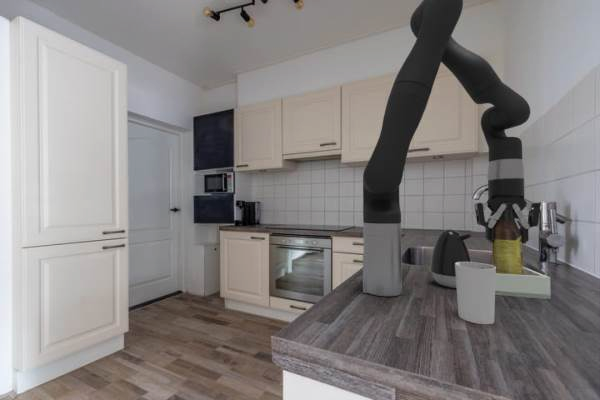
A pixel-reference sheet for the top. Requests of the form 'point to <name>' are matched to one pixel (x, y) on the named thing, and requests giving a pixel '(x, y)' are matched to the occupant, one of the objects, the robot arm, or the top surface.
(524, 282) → the bin
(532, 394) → the top surface
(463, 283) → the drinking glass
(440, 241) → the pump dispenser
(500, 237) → the sauce bottle
